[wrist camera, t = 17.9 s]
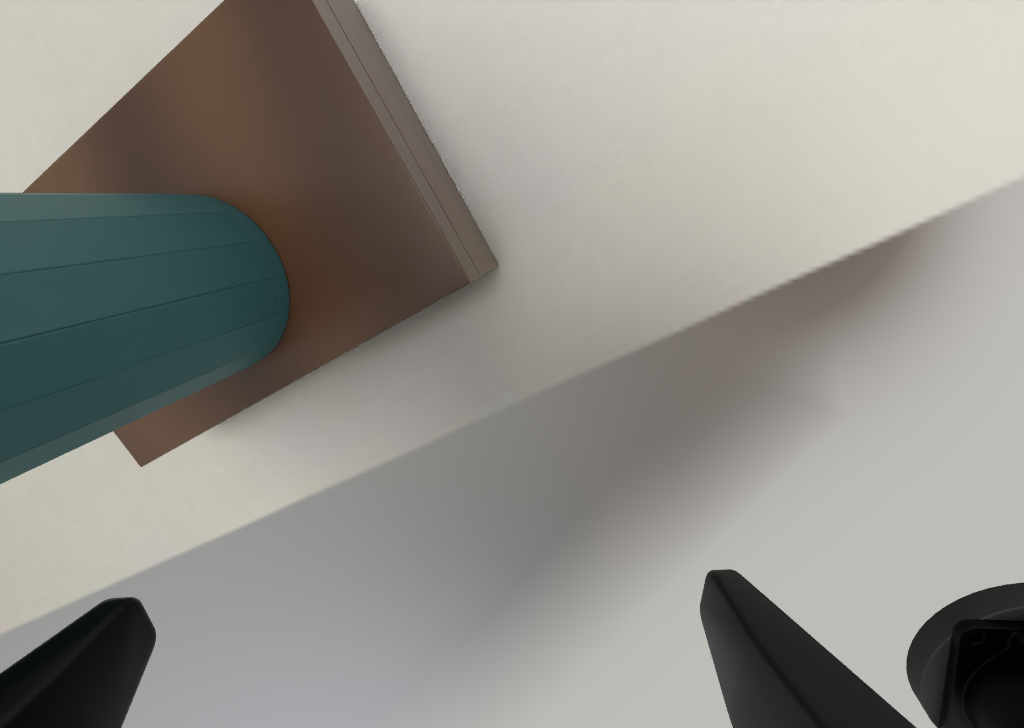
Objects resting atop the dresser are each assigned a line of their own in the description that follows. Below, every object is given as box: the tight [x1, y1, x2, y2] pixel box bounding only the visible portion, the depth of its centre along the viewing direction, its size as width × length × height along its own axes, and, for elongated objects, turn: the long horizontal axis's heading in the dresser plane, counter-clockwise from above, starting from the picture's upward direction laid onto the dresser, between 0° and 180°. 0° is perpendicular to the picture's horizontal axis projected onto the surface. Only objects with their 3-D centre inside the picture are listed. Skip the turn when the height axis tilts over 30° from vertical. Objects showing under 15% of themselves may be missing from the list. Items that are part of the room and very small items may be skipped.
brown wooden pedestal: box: [23, 0, 498, 467], centre depth 18 cm, size 16×10×4 cm, turn 119°
